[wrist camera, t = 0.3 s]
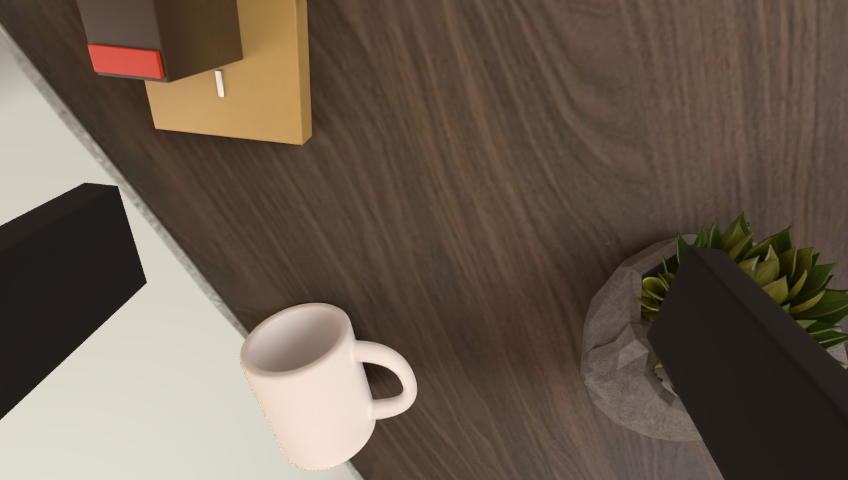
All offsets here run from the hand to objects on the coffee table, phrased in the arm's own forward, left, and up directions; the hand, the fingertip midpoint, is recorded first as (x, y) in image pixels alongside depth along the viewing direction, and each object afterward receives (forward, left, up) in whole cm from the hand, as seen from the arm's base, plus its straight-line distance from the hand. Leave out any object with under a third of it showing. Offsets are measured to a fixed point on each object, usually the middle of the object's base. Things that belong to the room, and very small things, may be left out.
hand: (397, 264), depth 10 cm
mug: (+21, -5, -18) cm, 28 cm away
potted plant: (+10, +17, -18) cm, 27 cm away
